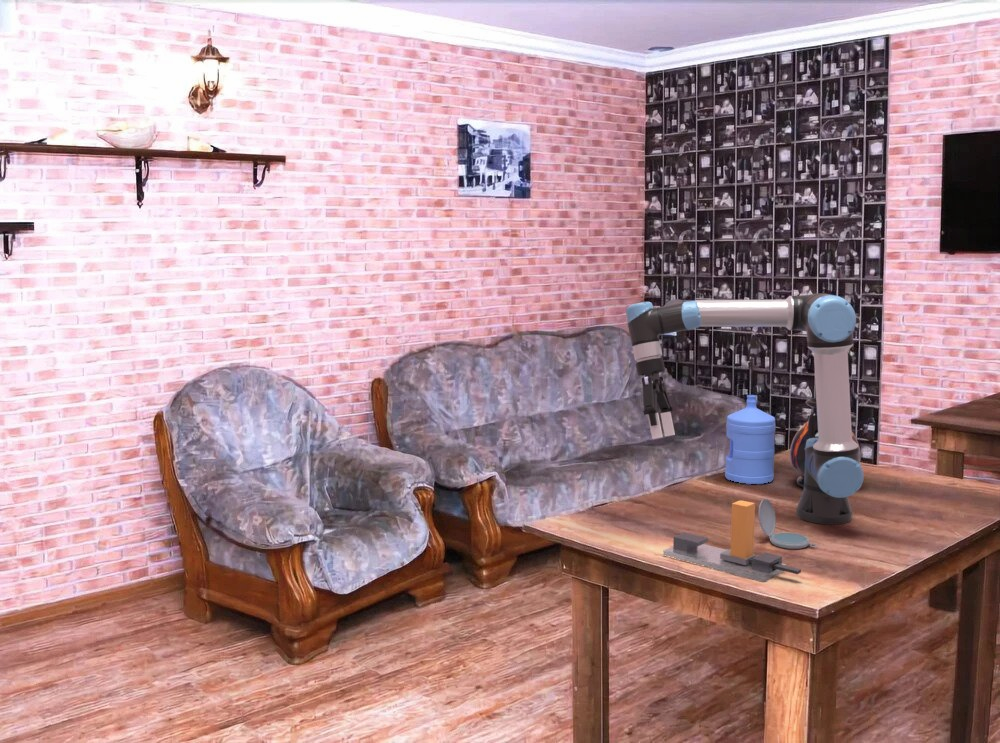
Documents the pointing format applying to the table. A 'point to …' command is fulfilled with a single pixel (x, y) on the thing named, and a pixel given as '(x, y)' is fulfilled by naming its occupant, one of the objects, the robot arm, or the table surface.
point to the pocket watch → (779, 539)
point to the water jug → (750, 445)
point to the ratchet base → (699, 553)
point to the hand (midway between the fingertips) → (663, 437)
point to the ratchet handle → (745, 537)
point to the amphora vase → (800, 440)
